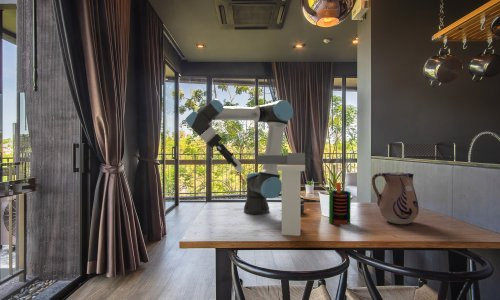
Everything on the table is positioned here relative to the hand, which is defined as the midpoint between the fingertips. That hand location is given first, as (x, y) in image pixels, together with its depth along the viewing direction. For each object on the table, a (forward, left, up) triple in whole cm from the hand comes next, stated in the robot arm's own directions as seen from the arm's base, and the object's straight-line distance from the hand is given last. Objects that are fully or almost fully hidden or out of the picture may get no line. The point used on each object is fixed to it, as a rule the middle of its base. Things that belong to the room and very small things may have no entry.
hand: (240, 168), depth 146 cm
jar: (-27, +27, -28) cm, 47 cm away
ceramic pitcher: (-14, +77, -28) cm, 83 cm away
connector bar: (+7, +21, +3) cm, 23 cm away
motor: (-8, +49, -28) cm, 57 cm away
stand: (+12, +26, -27) cm, 40 cm away
